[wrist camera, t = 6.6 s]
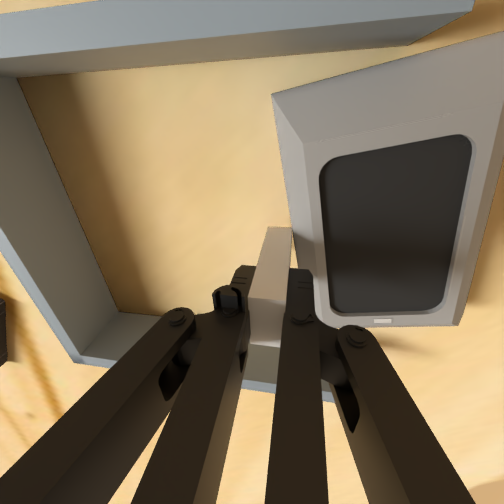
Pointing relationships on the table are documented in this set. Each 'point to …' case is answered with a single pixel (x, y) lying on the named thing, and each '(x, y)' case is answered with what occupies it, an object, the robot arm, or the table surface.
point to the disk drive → (2, 333)
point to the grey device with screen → (395, 182)
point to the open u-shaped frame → (136, 56)
